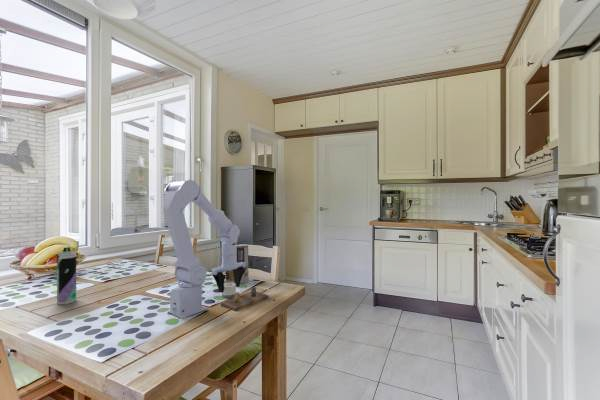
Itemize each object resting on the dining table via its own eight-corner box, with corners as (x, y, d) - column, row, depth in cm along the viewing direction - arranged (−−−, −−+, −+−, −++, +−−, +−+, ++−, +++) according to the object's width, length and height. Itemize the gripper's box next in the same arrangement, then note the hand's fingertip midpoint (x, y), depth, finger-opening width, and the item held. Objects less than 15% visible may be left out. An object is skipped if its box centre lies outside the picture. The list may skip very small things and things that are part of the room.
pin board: (235, 311, 94) (235, 298, 94) (220, 305, 98) (220, 293, 98) (268, 297, 106) (268, 286, 106) (254, 293, 111) (254, 282, 111)
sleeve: (228, 299, 105) (228, 287, 105) (219, 296, 108) (219, 285, 108) (238, 295, 109) (238, 284, 109) (230, 293, 112) (230, 282, 112)
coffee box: (248, 279, 131) (248, 245, 131) (244, 283, 124) (244, 247, 124) (230, 279, 132) (230, 245, 132) (225, 283, 125) (225, 247, 125)
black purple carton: (65, 305, 99) (65, 249, 99) (52, 303, 100) (52, 248, 100) (80, 299, 104) (80, 246, 104) (68, 298, 105) (68, 246, 106)
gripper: (236, 250, 116) (237, 282, 116) (206, 256, 105) (207, 292, 105) (248, 252, 112) (248, 285, 112) (218, 258, 101) (218, 295, 101)
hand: (229, 289), depth 108 cm, fingers open, 7 cm apart
